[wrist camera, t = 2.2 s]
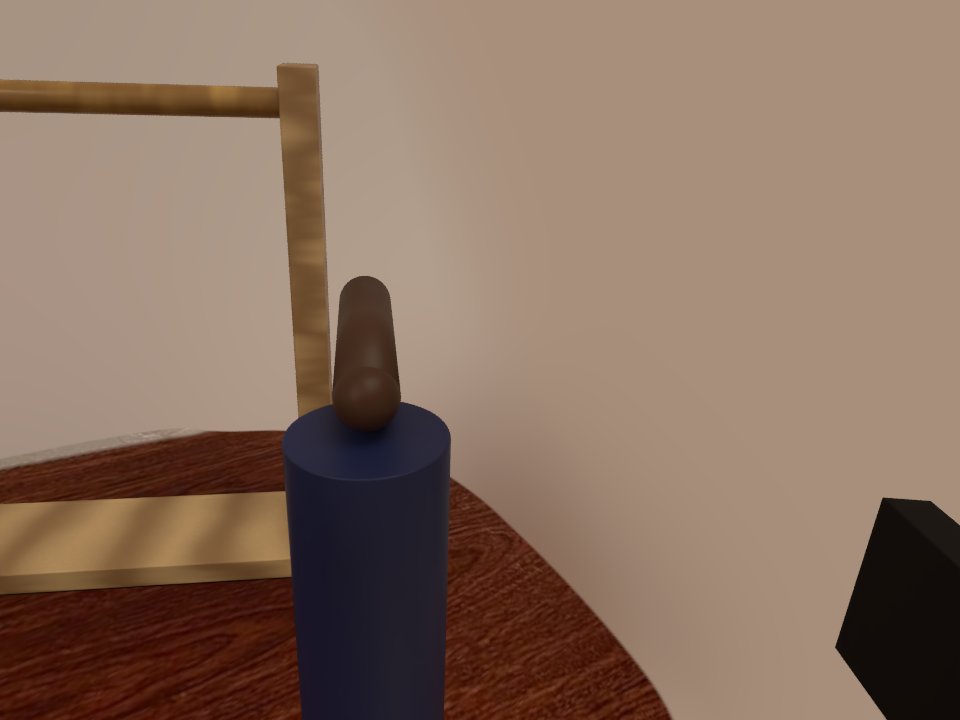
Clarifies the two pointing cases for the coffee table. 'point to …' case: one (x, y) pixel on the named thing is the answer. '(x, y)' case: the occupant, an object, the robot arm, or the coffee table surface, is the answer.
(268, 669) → the coffee table surface
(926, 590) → the robot arm
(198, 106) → the rack
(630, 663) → the coffee table surface
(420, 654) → the umbrella
